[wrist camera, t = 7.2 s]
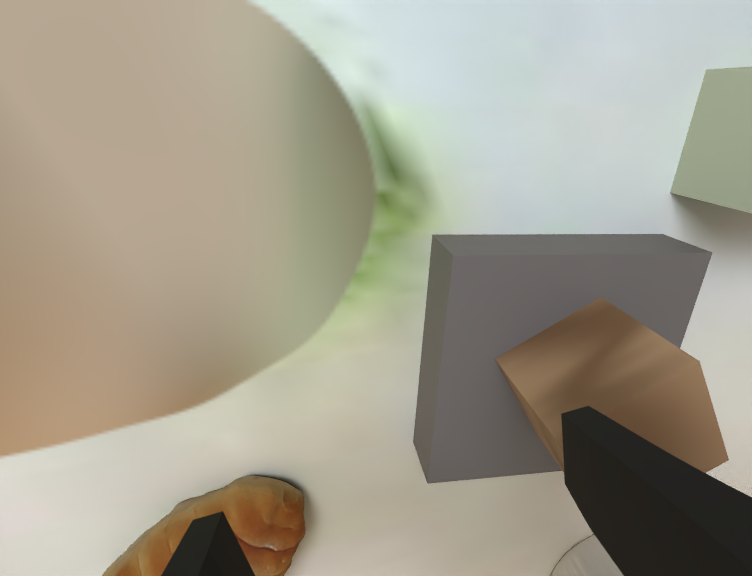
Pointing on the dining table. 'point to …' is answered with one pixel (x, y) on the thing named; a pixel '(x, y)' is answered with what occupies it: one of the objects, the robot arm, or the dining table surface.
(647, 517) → the robot arm
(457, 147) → the dining table surface
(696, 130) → the sage green cube
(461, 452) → the charcoal slab
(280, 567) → the pastry
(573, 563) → the ramekin
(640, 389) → the walnut cube
